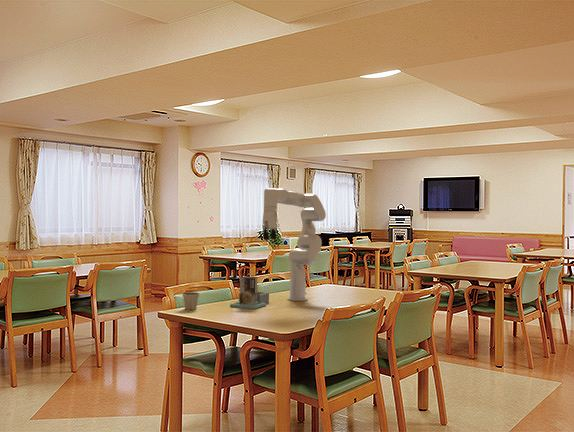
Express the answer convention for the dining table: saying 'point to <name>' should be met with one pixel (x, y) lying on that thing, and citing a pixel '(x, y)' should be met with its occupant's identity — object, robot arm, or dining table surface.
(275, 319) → the dining table surface
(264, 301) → the bay
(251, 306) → the tray
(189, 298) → the flower pot
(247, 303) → the coffee box
